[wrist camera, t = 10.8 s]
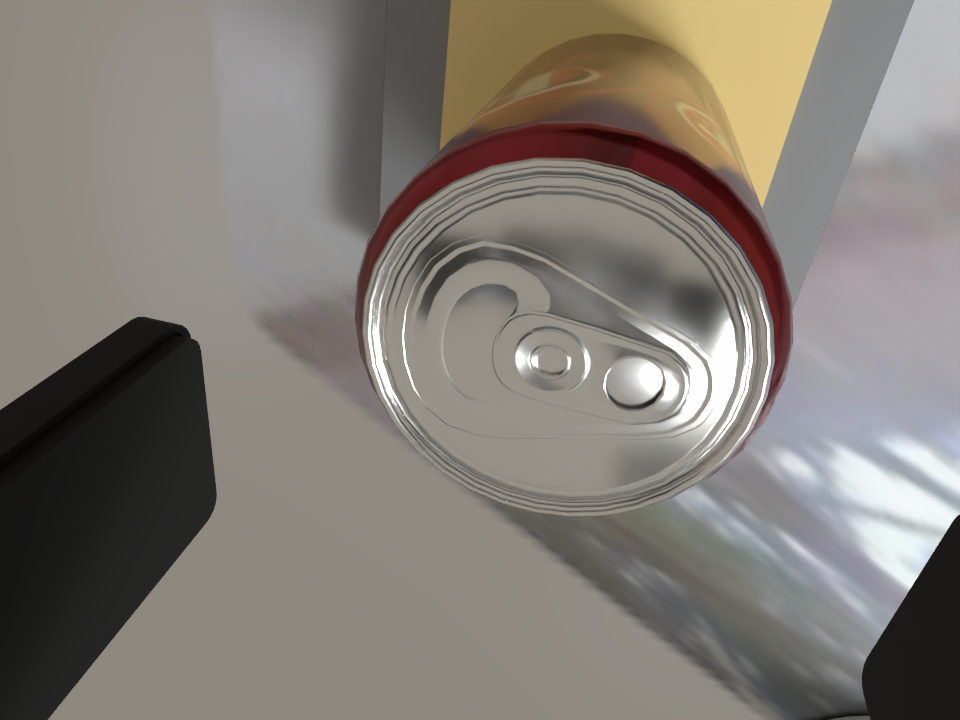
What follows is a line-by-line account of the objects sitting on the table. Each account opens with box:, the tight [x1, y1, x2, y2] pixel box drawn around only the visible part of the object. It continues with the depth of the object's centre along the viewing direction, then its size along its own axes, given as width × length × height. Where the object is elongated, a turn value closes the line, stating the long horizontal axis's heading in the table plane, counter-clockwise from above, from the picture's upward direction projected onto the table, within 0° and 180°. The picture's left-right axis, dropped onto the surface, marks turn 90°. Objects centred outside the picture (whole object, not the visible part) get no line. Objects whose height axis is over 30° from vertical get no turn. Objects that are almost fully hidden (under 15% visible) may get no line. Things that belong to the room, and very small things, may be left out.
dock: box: [380, 0, 914, 311], centre depth 23 cm, size 14×14×4 cm
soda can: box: [355, 34, 793, 517], centre depth 16 cm, size 7×7×12 cm
